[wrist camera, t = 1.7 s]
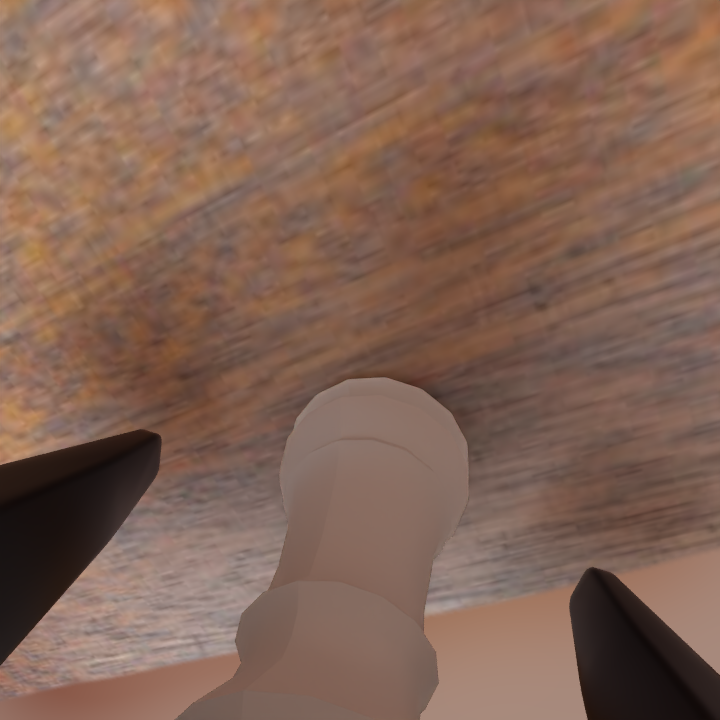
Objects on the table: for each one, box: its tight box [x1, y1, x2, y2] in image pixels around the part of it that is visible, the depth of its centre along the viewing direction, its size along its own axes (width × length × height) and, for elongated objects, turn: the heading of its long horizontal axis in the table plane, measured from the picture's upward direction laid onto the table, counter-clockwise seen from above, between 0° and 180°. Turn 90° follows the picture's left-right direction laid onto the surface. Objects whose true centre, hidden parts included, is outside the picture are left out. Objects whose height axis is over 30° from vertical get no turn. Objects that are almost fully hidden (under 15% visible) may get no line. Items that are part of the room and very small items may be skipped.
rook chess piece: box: [175, 377, 469, 720], centre depth 7 cm, size 4×4×8 cm
